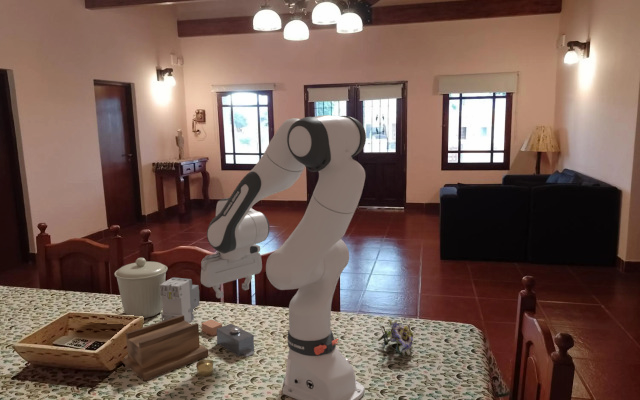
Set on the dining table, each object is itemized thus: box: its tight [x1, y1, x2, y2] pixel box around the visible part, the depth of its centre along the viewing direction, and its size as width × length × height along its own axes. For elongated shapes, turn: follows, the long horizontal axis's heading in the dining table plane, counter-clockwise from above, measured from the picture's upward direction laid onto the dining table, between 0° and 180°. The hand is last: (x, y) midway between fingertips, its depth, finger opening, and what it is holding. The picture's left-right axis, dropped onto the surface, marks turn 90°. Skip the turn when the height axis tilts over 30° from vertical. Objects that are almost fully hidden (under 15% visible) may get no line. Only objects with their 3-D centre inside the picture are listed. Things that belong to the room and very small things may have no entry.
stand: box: [122, 315, 209, 382], centre depth 142 cm, size 16×20×10 cm
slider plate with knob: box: [216, 323, 255, 358], centre depth 149 cm, size 16×6×6 cm, turn 45°
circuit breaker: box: [160, 277, 200, 324], centre depth 170 cm, size 8×14×15 cm, turn 164°
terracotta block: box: [201, 319, 223, 337], centre depth 161 cm, size 6×4×3 cm, turn 49°
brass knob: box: [196, 359, 214, 378], centre depth 134 cm, size 4×4×3 cm
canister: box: [114, 257, 168, 319], centre depth 175 cm, size 18×18×21 cm
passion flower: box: [377, 319, 414, 357], centre depth 146 cm, size 11×11×12 cm
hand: (232, 293), depth 147 cm, fingers open, 8 cm apart
